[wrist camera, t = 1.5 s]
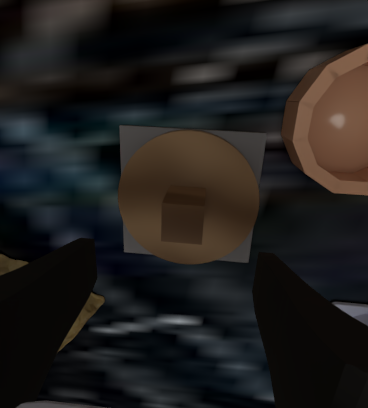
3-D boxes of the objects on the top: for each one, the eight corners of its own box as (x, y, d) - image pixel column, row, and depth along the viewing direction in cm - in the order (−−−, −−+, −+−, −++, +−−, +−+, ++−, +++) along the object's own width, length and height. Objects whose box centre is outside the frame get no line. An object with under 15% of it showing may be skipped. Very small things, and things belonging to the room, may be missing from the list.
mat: (247, 260, 23) (248, 262, 22) (125, 249, 24) (124, 252, 23) (265, 132, 19) (266, 133, 19) (121, 124, 20) (119, 125, 20)
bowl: (391, 184, 20) (421, 198, 17) (273, 176, 20) (283, 189, 17) (433, 54, 17) (477, 46, 14) (294, 49, 17) (310, 41, 15)
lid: (248, 262, 22) (256, 301, 18) (124, 251, 23) (104, 286, 19) (267, 133, 19) (282, 144, 15) (119, 125, 20) (94, 133, 15)
